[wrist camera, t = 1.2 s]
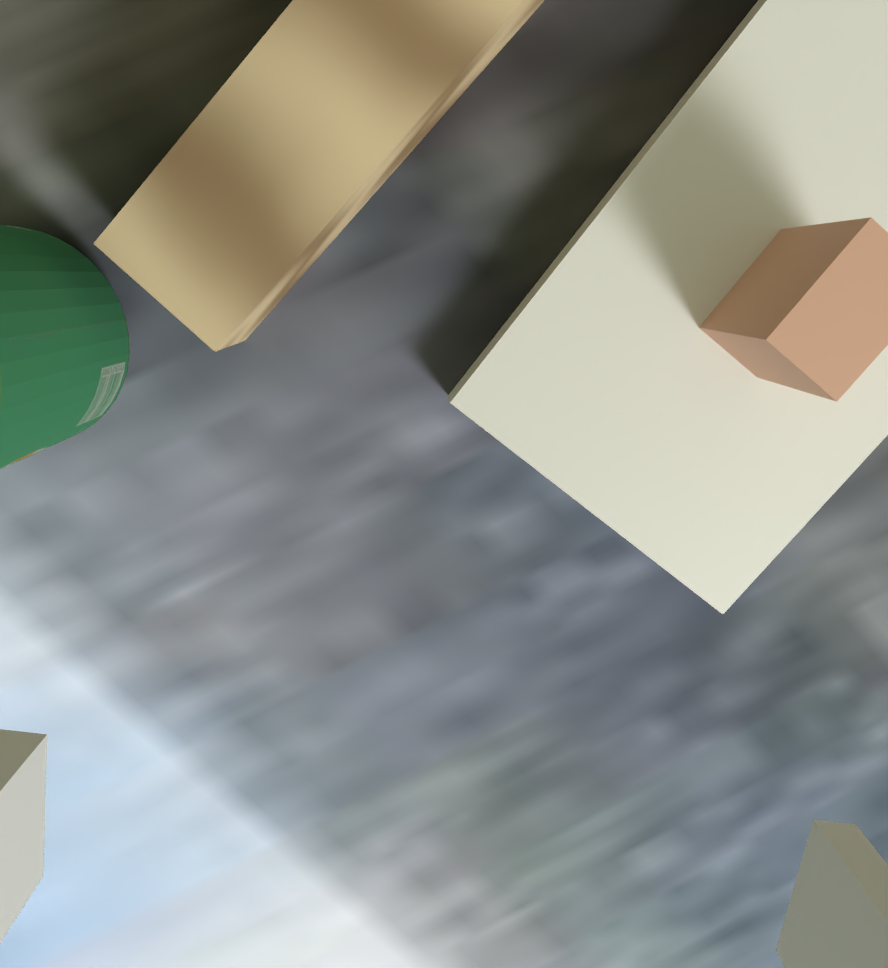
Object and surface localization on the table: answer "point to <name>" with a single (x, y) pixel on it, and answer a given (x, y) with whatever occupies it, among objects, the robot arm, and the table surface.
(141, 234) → the oak bar
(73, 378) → the beverage can
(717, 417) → the fulcrum
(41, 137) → the table surface
